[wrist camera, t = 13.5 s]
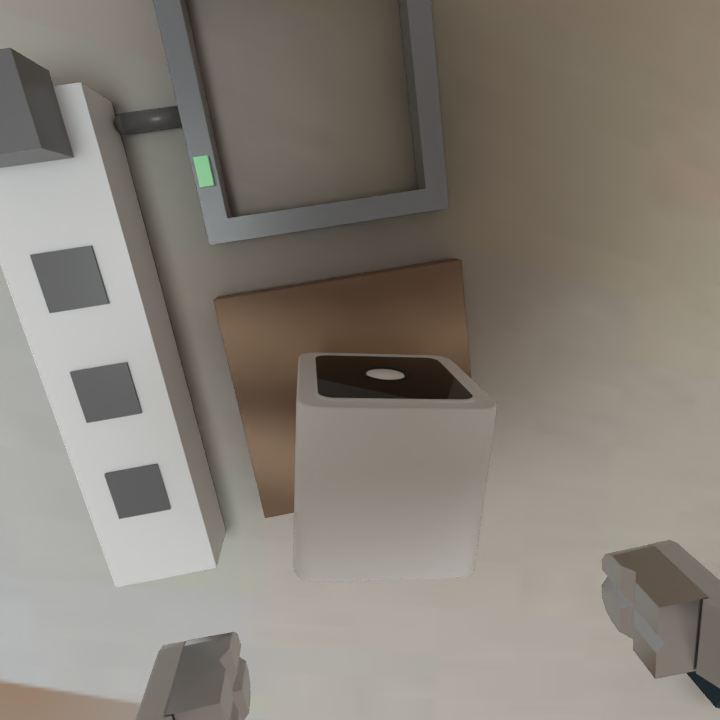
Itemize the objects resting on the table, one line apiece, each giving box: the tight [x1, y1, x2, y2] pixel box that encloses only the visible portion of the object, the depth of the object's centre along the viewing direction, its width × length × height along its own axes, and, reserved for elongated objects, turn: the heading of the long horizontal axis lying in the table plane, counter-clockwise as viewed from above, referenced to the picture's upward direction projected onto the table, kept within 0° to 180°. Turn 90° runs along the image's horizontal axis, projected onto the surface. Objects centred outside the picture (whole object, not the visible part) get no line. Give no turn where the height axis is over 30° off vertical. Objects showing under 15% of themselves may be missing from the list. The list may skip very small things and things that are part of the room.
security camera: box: [293, 353, 497, 582], centre depth 20 cm, size 6×7×10 cm
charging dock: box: [153, 0, 449, 245], centre depth 21 cm, size 11×11×2 cm
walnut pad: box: [214, 259, 471, 518], centre depth 25 cm, size 12×12×1 cm
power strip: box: [0, 48, 226, 587], centre depth 21 cm, size 22×9×5 cm, turn 8°
